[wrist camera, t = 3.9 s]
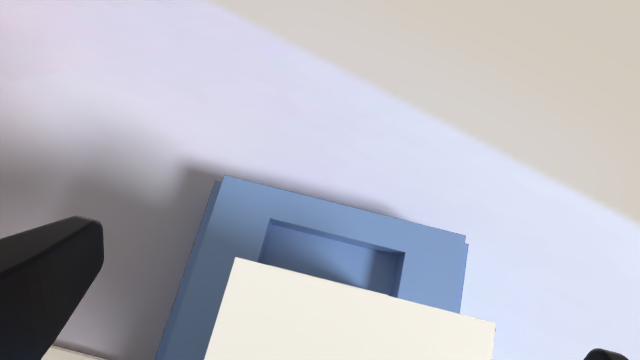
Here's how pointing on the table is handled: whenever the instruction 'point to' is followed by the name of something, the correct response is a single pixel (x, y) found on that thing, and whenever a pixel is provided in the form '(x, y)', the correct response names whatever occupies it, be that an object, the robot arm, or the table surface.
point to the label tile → (66, 355)
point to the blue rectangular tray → (307, 255)
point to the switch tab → (334, 322)
